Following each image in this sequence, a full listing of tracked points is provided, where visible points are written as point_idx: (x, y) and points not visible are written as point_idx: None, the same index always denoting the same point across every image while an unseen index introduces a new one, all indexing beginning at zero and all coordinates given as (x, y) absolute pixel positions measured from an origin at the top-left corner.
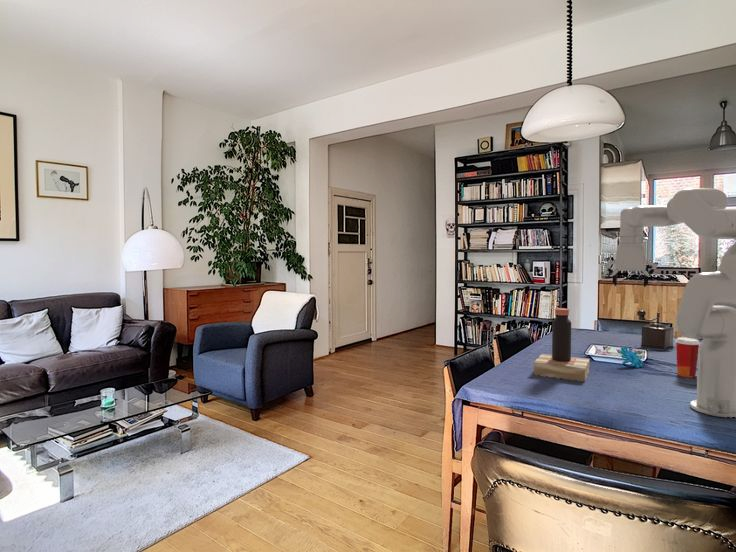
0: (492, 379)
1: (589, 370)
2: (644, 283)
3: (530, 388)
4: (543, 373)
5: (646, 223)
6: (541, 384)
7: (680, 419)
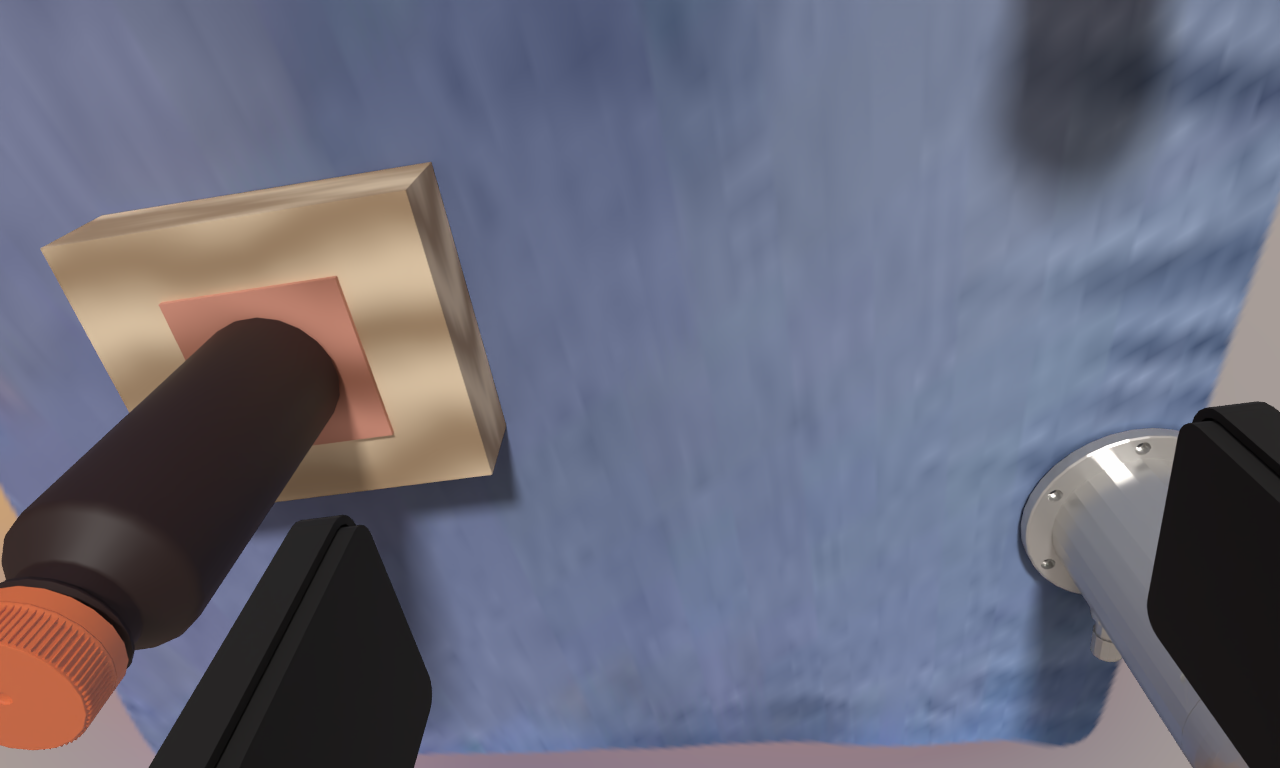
0: None
1: (432, 176)
2: (1221, 703)
3: None
4: None
5: None
6: None
7: (963, 672)
